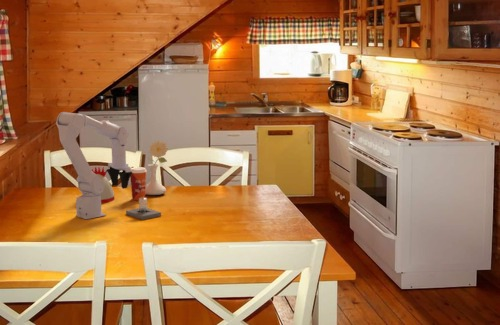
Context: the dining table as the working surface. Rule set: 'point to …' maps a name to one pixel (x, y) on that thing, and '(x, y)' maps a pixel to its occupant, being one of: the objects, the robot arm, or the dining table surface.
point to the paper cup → (138, 182)
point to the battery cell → (142, 205)
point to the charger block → (143, 216)
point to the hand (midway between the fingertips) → (119, 186)
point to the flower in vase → (153, 186)
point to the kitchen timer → (108, 191)
